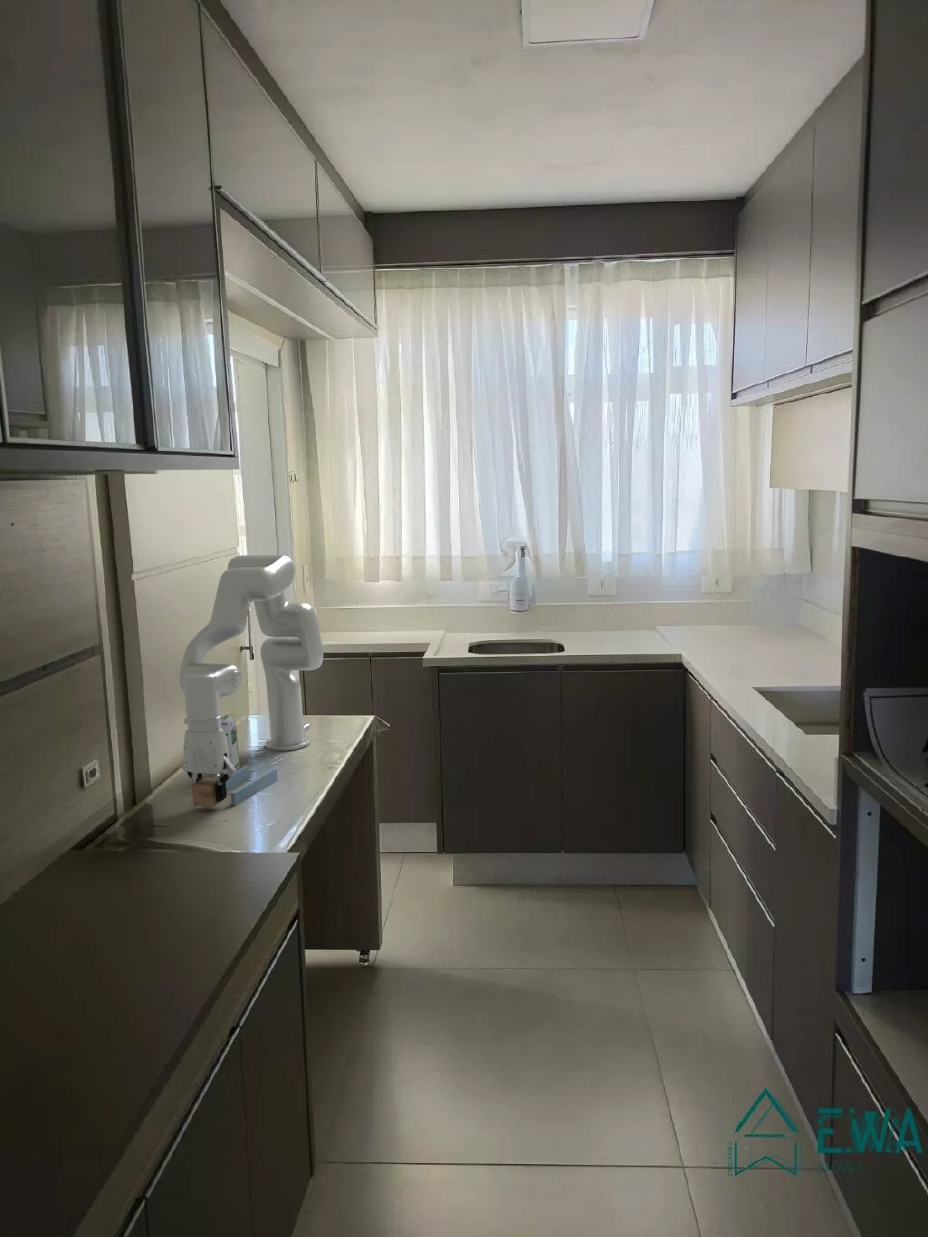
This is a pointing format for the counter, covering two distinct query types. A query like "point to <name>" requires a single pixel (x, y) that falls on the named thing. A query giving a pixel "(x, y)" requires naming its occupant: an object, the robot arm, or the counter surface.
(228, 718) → the syrup box
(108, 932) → the counter surface
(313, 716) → the counter surface
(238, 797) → the channel
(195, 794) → the walnut block
